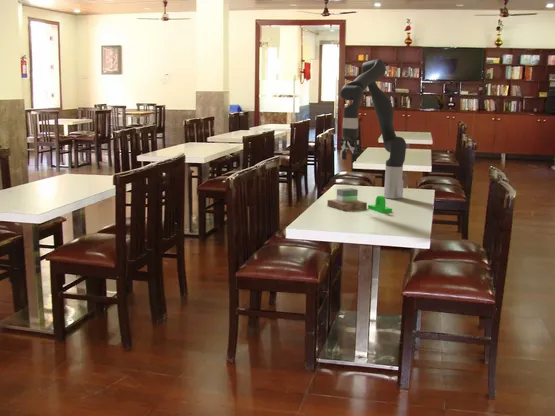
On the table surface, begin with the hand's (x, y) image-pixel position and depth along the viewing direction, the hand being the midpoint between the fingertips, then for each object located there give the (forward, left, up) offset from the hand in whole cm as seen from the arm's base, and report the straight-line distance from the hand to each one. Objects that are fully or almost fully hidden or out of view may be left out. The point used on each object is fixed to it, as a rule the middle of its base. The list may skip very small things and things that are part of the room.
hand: (348, 160), depth 309 cm
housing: (0, 0, -21) cm, 21 cm away
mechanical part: (-11, +13, -24) cm, 29 cm away
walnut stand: (0, 0, -24) cm, 24 cm away
